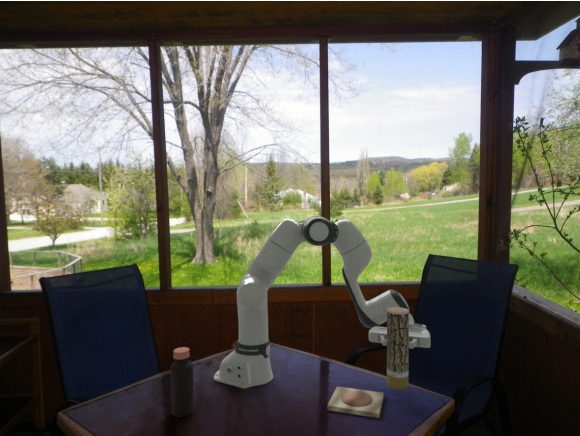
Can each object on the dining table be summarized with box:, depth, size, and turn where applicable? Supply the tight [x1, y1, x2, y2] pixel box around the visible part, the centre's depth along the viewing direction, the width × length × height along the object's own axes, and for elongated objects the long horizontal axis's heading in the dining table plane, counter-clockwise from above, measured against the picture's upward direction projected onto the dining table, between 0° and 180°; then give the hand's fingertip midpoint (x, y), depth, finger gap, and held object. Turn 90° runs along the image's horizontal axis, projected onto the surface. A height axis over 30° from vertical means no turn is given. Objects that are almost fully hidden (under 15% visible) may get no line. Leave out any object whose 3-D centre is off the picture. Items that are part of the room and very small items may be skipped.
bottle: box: [170, 346, 195, 419], centre depth 125 cm, size 7×7×20 cm
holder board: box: [326, 386, 385, 419], centre depth 129 cm, size 16×14×2 cm
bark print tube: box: [386, 307, 410, 391], centre depth 129 cm, size 7×7×25 cm
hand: (397, 344), depth 129 cm, fingers closed on bark print tube, 7 cm apart
